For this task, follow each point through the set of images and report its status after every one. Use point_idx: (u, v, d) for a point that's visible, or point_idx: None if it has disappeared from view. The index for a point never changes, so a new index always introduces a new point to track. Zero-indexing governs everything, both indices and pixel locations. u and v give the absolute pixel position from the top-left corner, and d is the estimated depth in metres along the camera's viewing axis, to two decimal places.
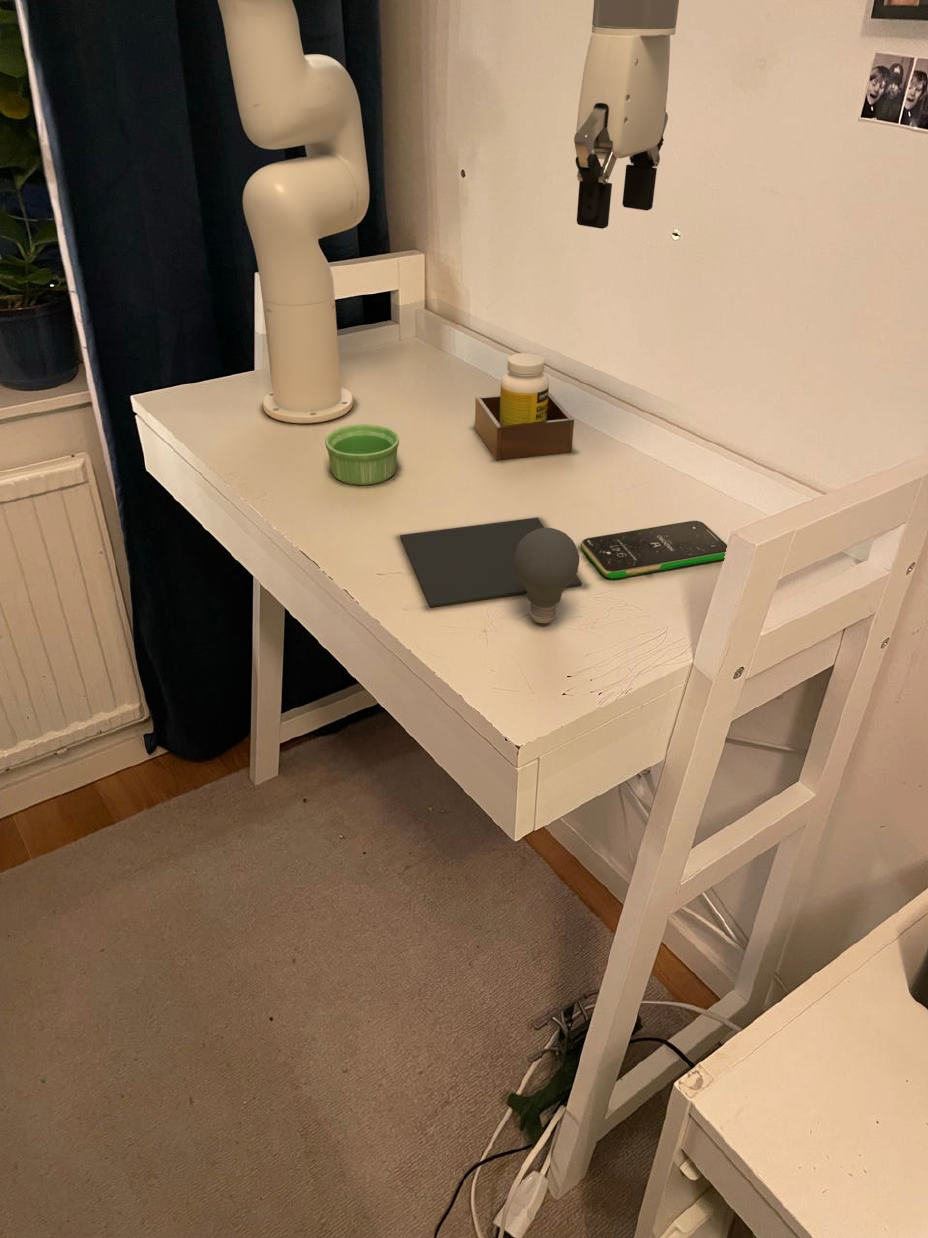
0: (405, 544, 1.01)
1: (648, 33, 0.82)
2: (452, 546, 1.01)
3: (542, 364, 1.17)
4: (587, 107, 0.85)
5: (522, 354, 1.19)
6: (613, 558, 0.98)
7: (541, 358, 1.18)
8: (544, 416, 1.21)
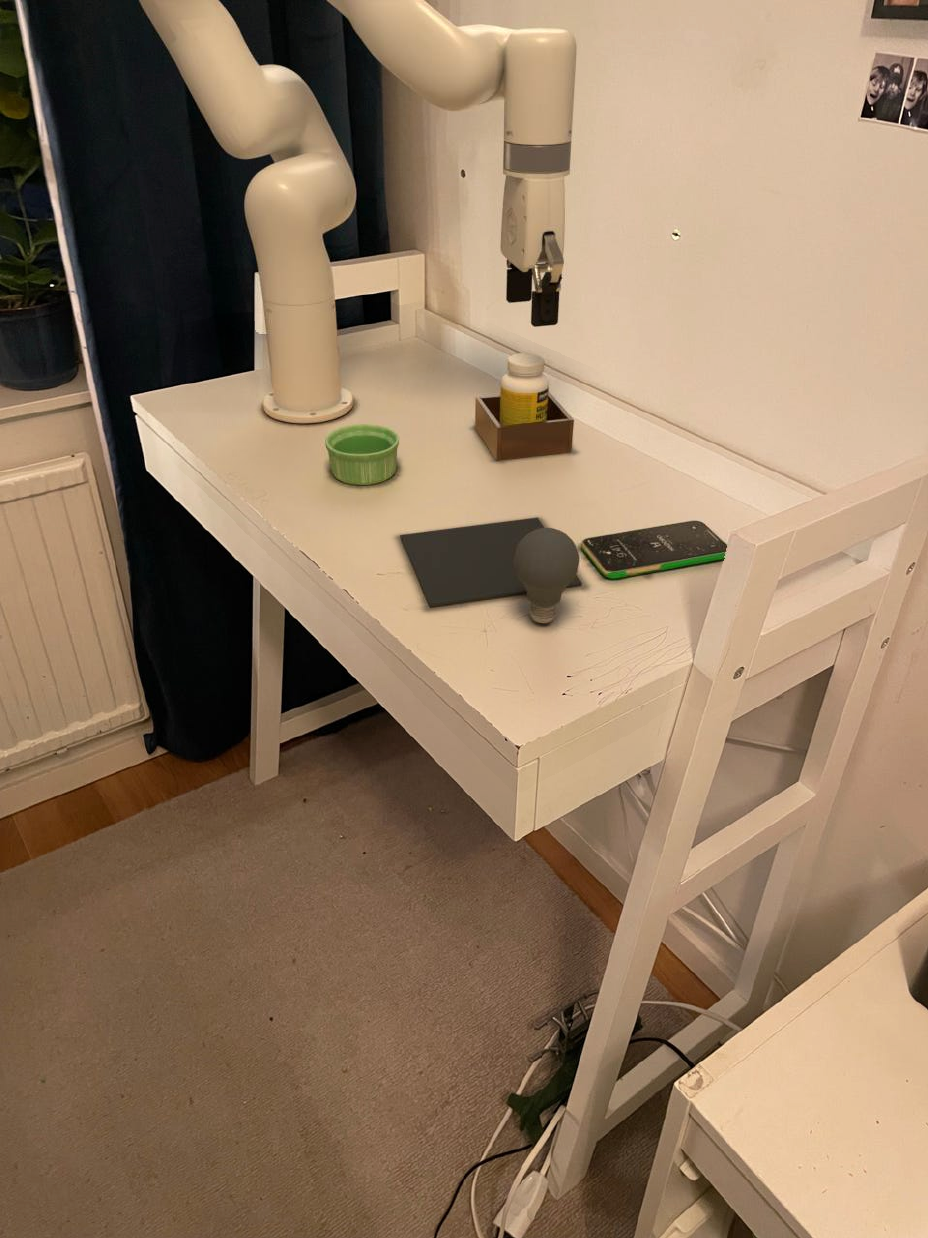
0: (405, 544, 1.01)
1: (567, 173, 1.04)
2: (452, 546, 1.01)
3: (542, 364, 1.17)
4: (536, 236, 1.04)
5: (522, 354, 1.19)
6: (613, 558, 0.98)
7: (541, 358, 1.18)
8: (544, 416, 1.21)
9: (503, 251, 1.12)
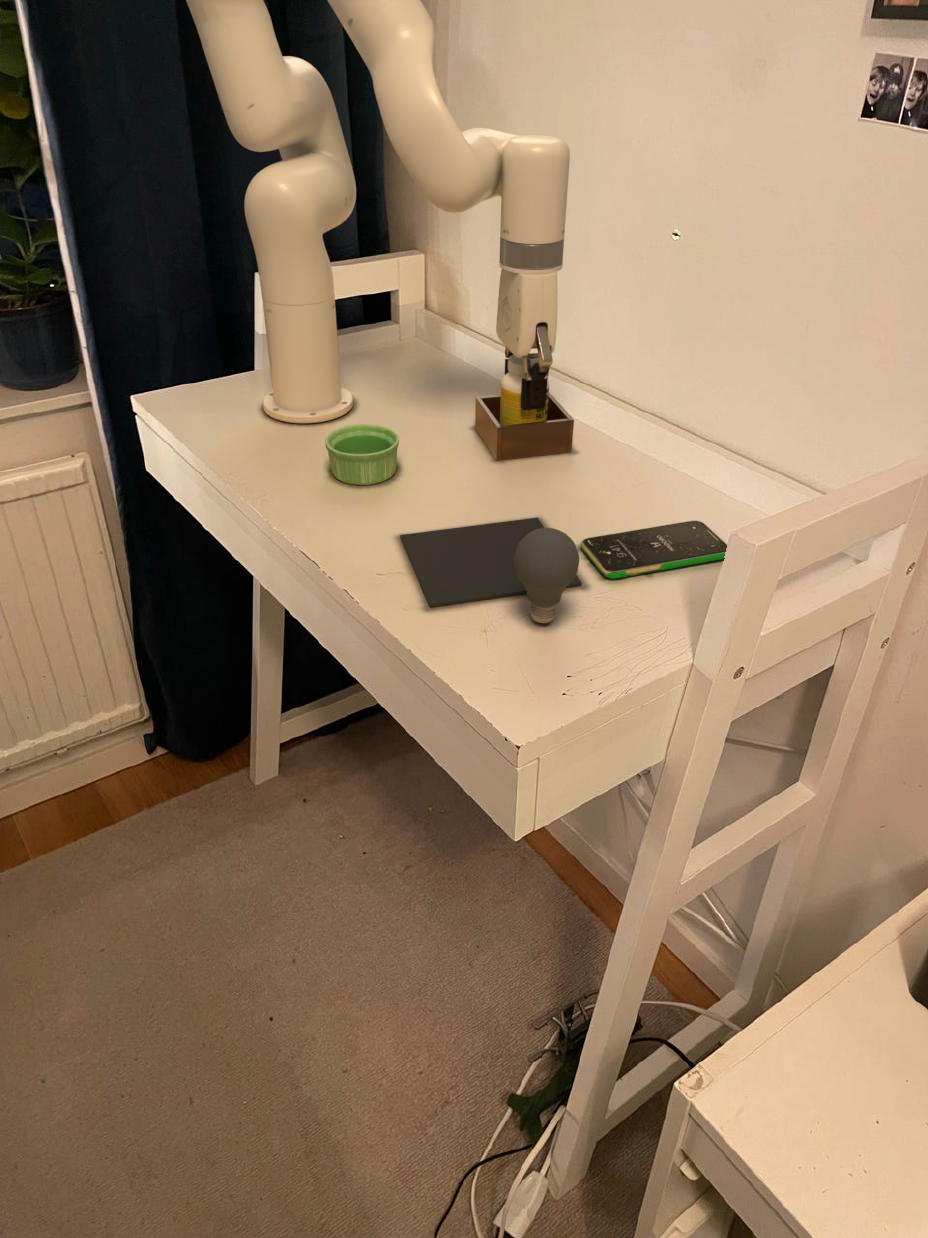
0: (405, 544, 1.01)
1: (559, 268, 1.10)
2: (452, 546, 1.01)
3: None
4: (530, 326, 1.10)
5: None
6: (613, 558, 0.98)
7: None
8: (544, 416, 1.21)
9: (499, 334, 1.18)
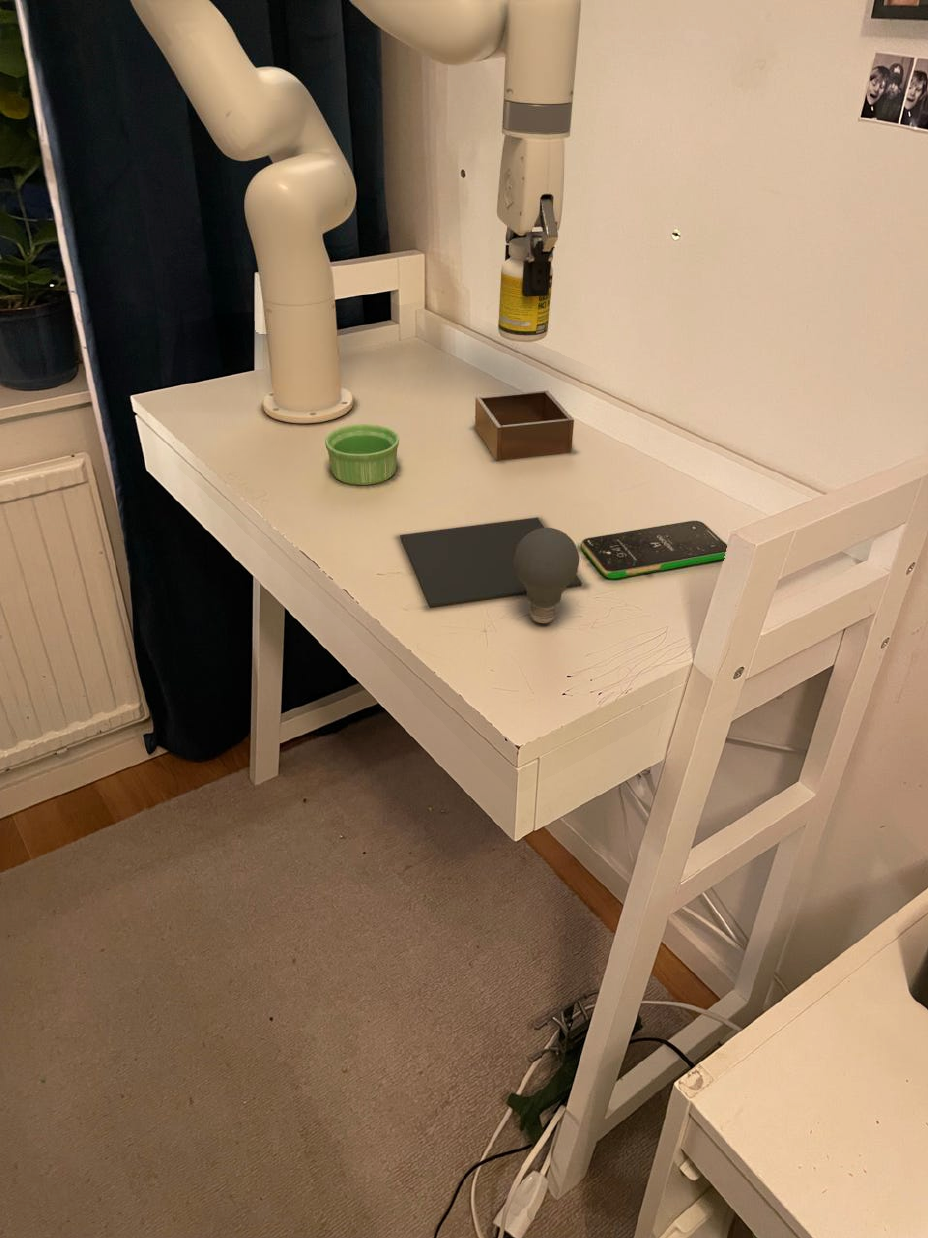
0: (405, 544, 1.01)
1: (567, 135, 1.02)
2: (452, 546, 1.01)
3: None
4: (534, 198, 1.02)
5: (525, 238, 1.11)
6: (613, 558, 0.98)
7: None
8: (547, 306, 1.13)
9: (500, 214, 1.10)
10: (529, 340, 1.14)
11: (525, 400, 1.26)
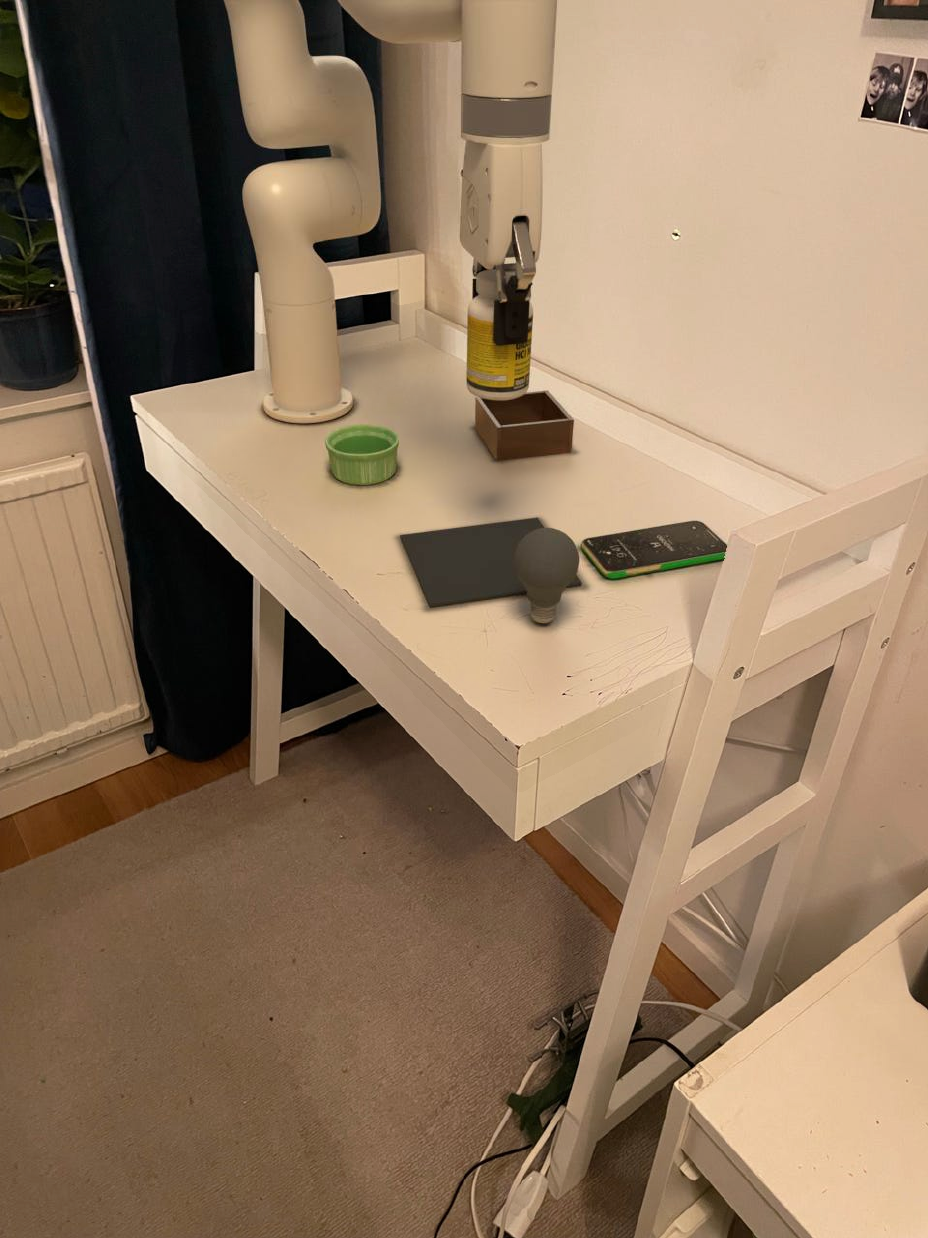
0: (405, 544, 1.01)
1: (545, 138, 0.78)
2: (452, 546, 1.01)
3: None
4: (504, 222, 0.78)
5: None
6: (613, 558, 0.98)
7: None
8: (527, 356, 0.89)
9: (463, 242, 0.86)
10: (505, 398, 0.90)
11: (525, 400, 1.26)
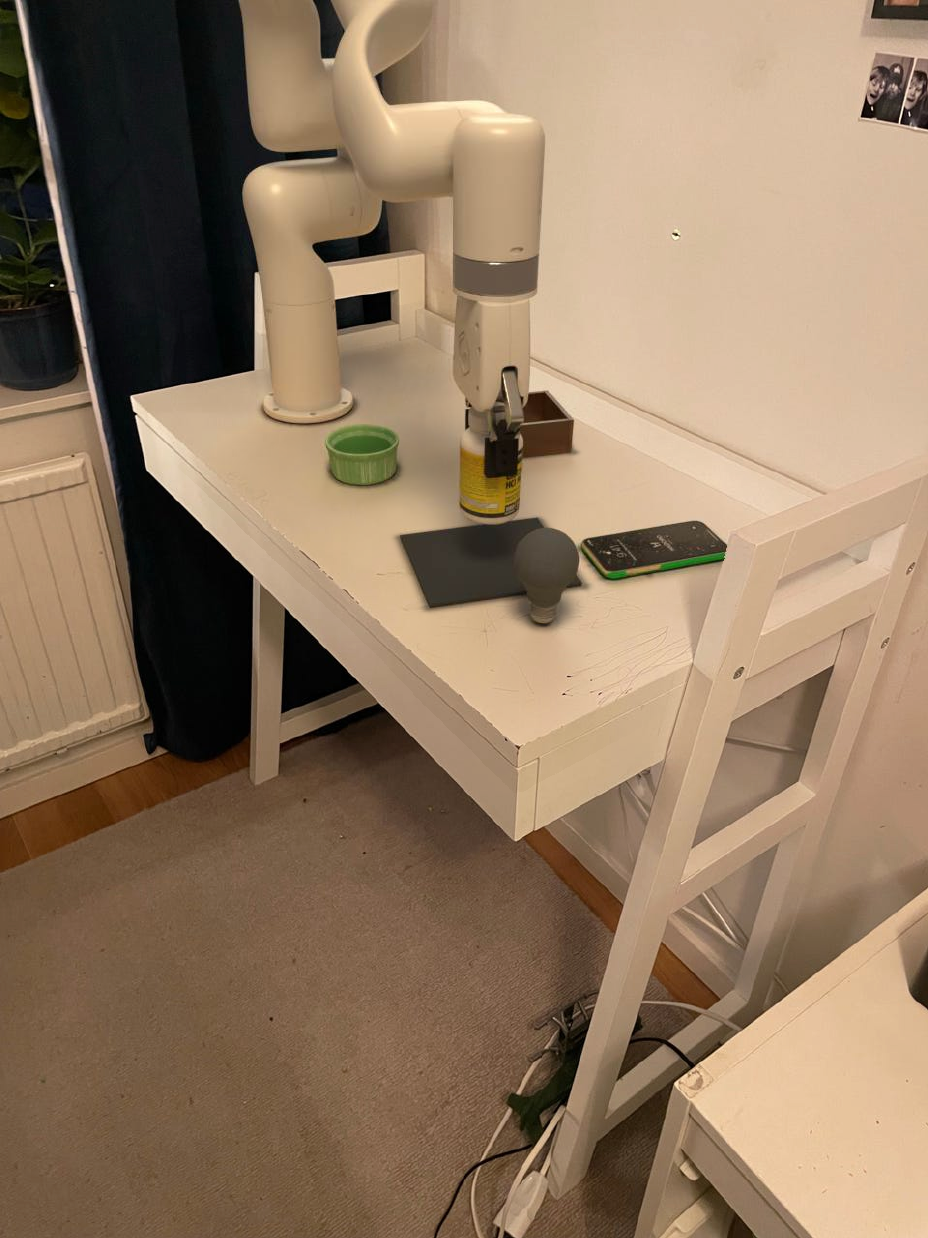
0: (405, 544, 1.01)
1: (533, 294, 0.81)
2: (452, 546, 1.01)
3: None
4: (494, 372, 0.82)
5: None
6: (613, 558, 0.98)
7: None
8: (517, 484, 0.92)
9: (456, 378, 0.90)
10: (496, 523, 0.93)
11: None
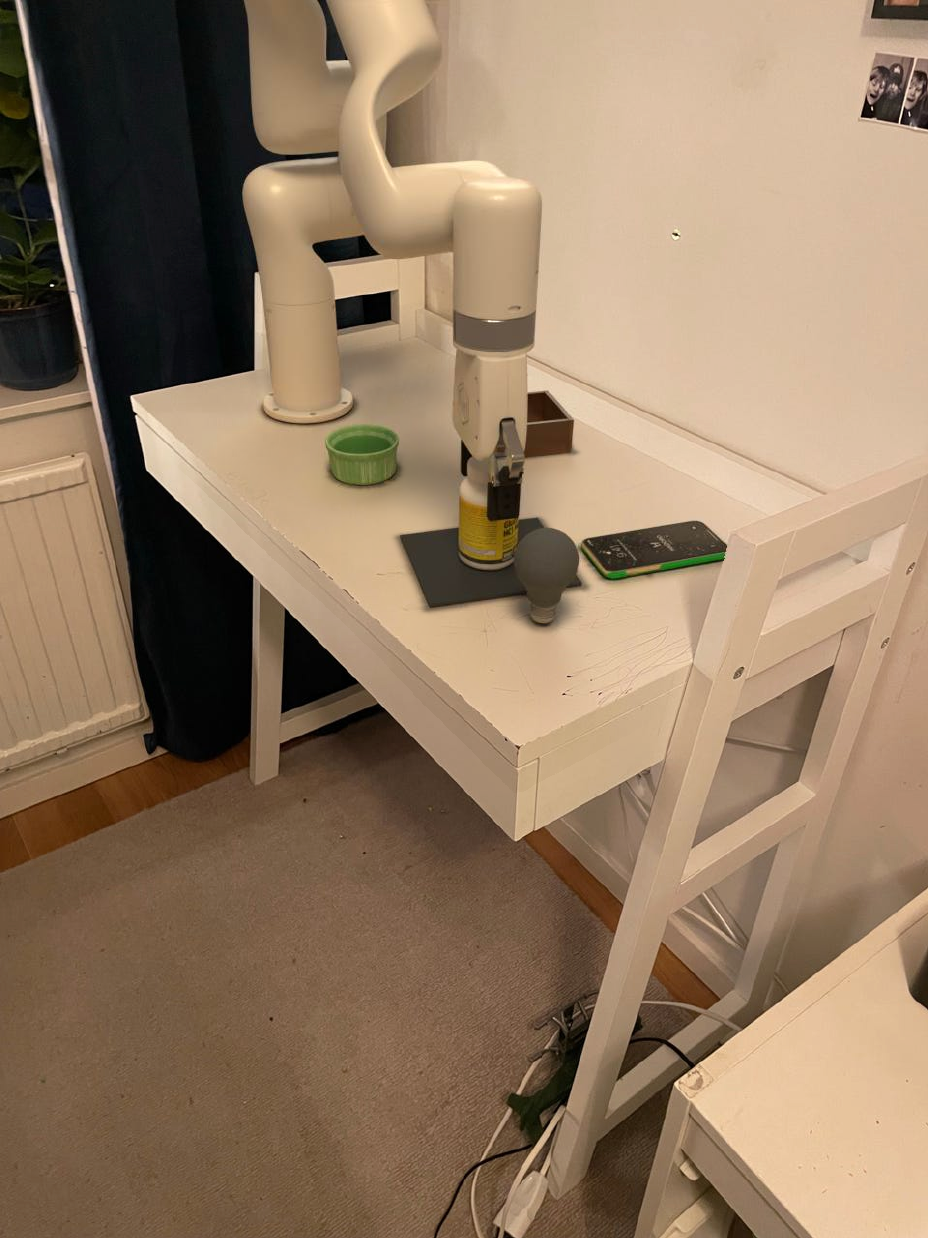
0: (405, 544, 1.01)
1: (530, 348, 0.84)
2: (452, 546, 1.01)
3: None
4: (492, 424, 0.85)
5: None
6: (613, 558, 0.98)
7: None
8: (514, 531, 0.96)
9: (455, 425, 0.93)
10: (494, 569, 0.97)
11: None
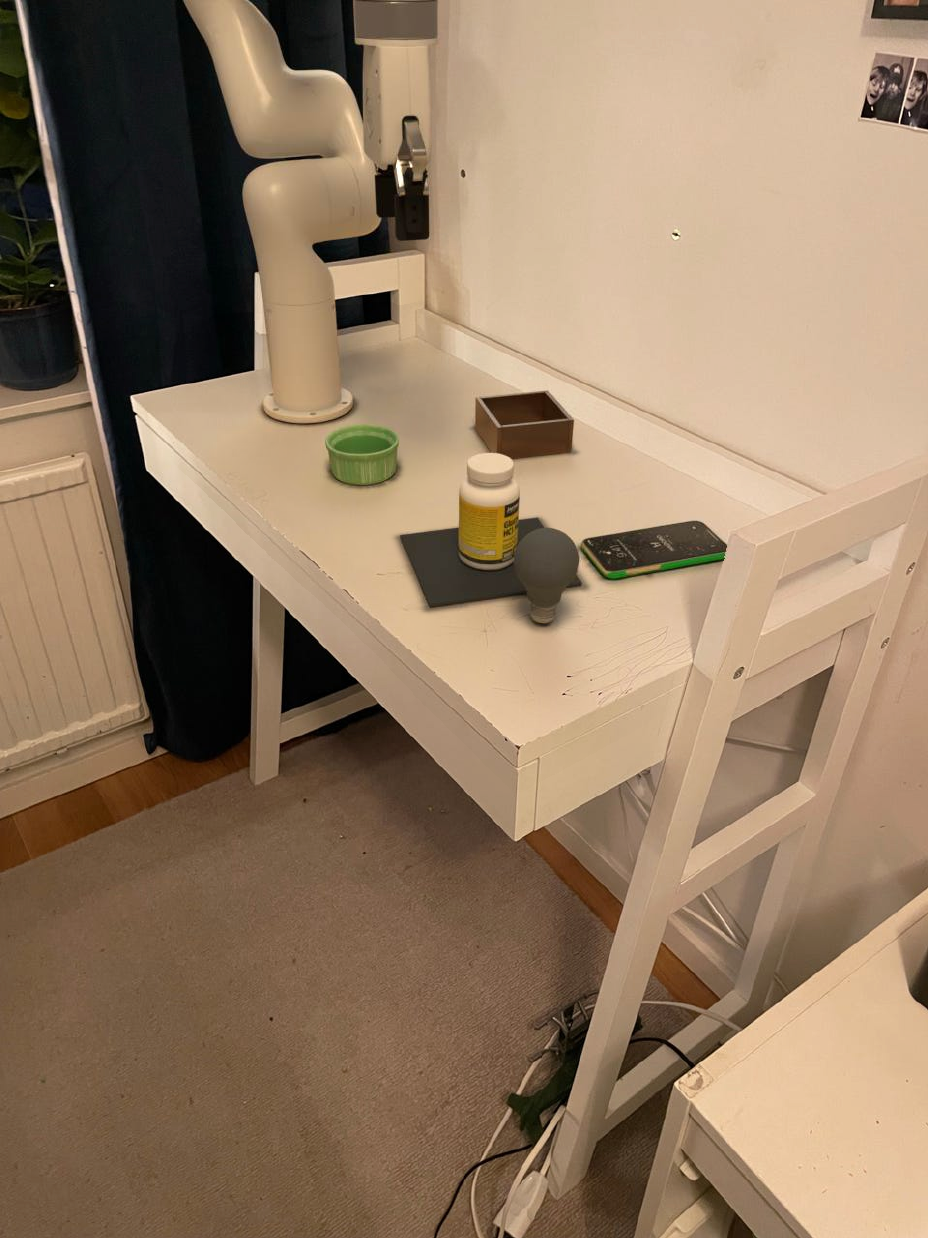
0: (405, 544, 1.01)
1: (432, 42, 0.83)
2: (452, 546, 1.01)
3: (510, 470, 0.92)
4: (395, 121, 0.83)
5: (486, 455, 0.94)
6: (613, 558, 0.98)
7: (510, 461, 0.93)
8: (514, 531, 0.96)
9: (365, 149, 0.91)
10: (494, 569, 0.97)
11: (525, 400, 1.26)
